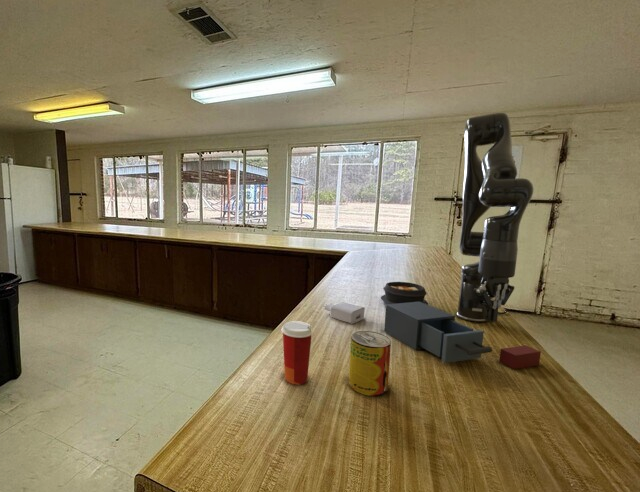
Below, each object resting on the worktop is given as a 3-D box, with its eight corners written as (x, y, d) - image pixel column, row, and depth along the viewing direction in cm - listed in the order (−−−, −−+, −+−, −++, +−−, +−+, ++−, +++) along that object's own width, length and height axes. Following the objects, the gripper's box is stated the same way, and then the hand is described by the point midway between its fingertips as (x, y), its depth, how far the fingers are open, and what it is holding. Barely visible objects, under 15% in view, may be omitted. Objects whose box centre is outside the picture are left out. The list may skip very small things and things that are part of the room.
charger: (330, 308, 133) (364, 318, 122) (317, 313, 127) (351, 324, 116) (331, 297, 133) (364, 306, 121) (317, 302, 127) (351, 312, 115)
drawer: (498, 366, 85) (501, 338, 84) (460, 372, 82) (463, 343, 81) (441, 337, 103) (443, 314, 102) (408, 342, 100) (410, 318, 99)
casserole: (424, 317, 123) (426, 296, 122) (373, 308, 134) (375, 288, 132) (431, 301, 143) (432, 282, 142) (386, 294, 154) (388, 277, 153)
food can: (369, 400, 72) (372, 350, 70) (340, 380, 80) (342, 335, 78) (396, 389, 76) (399, 342, 74) (366, 371, 84) (369, 328, 82)
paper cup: (313, 373, 83) (314, 322, 81) (309, 389, 76) (310, 334, 74) (284, 368, 86) (284, 318, 84) (277, 383, 79) (277, 329, 77)
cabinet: (452, 345, 100) (455, 315, 98) (415, 350, 96) (418, 319, 95) (417, 327, 114) (419, 301, 112) (384, 331, 110) (385, 304, 109)
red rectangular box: (523, 358, 91) (525, 345, 91) (539, 365, 88) (541, 351, 87) (499, 362, 89) (500, 348, 89) (513, 369, 85) (515, 355, 85)
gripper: (496, 261, 77) (488, 329, 79) (530, 257, 81) (522, 322, 84) (465, 256, 84) (459, 319, 86) (499, 253, 88) (492, 313, 91)
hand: (490, 320), depth 85 cm, fingers closed
